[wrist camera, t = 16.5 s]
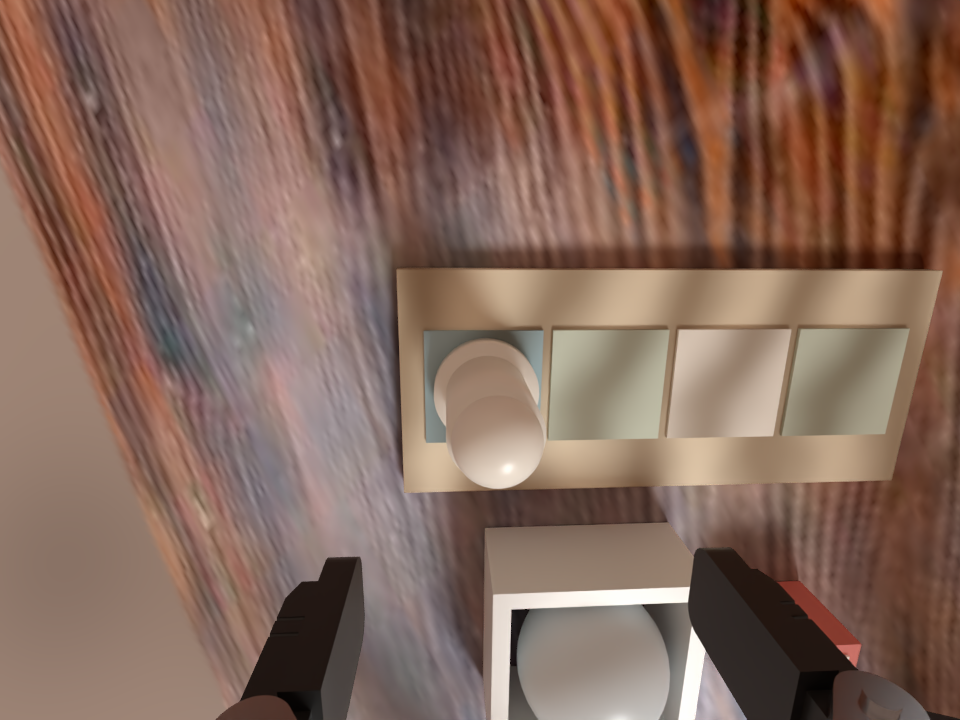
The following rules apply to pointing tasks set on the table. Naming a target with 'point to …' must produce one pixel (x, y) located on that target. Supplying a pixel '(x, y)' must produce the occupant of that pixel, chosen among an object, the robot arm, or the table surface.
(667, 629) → the button housing
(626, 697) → the dome
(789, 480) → the board
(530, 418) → the pawn
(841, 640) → the die
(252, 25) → the table surface
